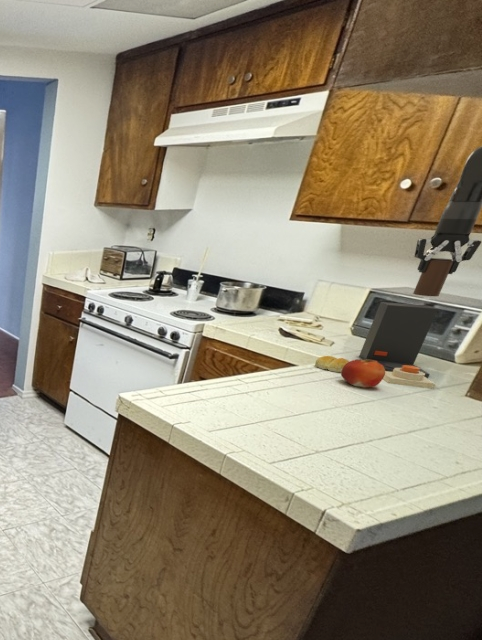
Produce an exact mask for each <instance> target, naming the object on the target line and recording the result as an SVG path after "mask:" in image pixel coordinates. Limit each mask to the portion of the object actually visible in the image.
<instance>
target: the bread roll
mask: <svg viewBox="0 0 482 640" xmlns="http://www.w3.org/2000/svg"><path fill="white" fill-rule="evenodd" d="M348 362H350V360H348V359H346V358H343V357H339V358H337V357H335V356H332V355H323V356H320V357H317V359H316V360H315V363H314V365H315V366H316V367H317V368H319V369H320V370H328V371H329V372H334V373H341V371H342V369H343V367H344V366H345V364H347V363H348Z"/></svg>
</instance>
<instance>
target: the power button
mask: <svg viewBox="0 0 482 640" xmlns="http://www.w3.org/2000/svg"><path fill="white" fill-rule="evenodd" d="M415 366H416V365H415ZM415 366H410V365H403V366H402V369H401V371H404V372H408V373H415V374H418V371H419V369H421V368H420V367H418V366H417V367H415Z"/></svg>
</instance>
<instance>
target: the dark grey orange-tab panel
mask: <svg viewBox="0 0 482 640" xmlns="http://www.w3.org/2000/svg"><path fill="white" fill-rule="evenodd" d="M438 311H439V308H437V307H434V306H431V305H425V304H424V305H423V304H410V303H401V302H399V303H398V302H386V301H381V302H380V303H379V305H378V308H377V310H376V313H375V315H374V317H373V320H372V323H371V325H370V327H369V330H368V333H367V335H366V337H365V340H364V343H363V345H362V348H361V350H360V353H359V354H358V357H359V358H360V360H367V359H370V360H374V361H377V362H378V363H380V364H382V365H383V367H384V369H385V371H388V372H393V369H394V368H402V366H403V365H410V366H415V367H418V366H417V365H415V362H416V360H417V357H418V355H419V353H420V351H421V349H422V346H423V344H424V342H425V340H426V338H427V335H428V333H429V331H430V329H431V326H432V324H433V322H434V320H435V319H436V315H437V313H438ZM419 371H420V372H423V373H425V376H424V377H426V378H427V379H429V377H430V373H429V372H427V371H425V370H424V369H421V368H420V369H419Z"/></svg>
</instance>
